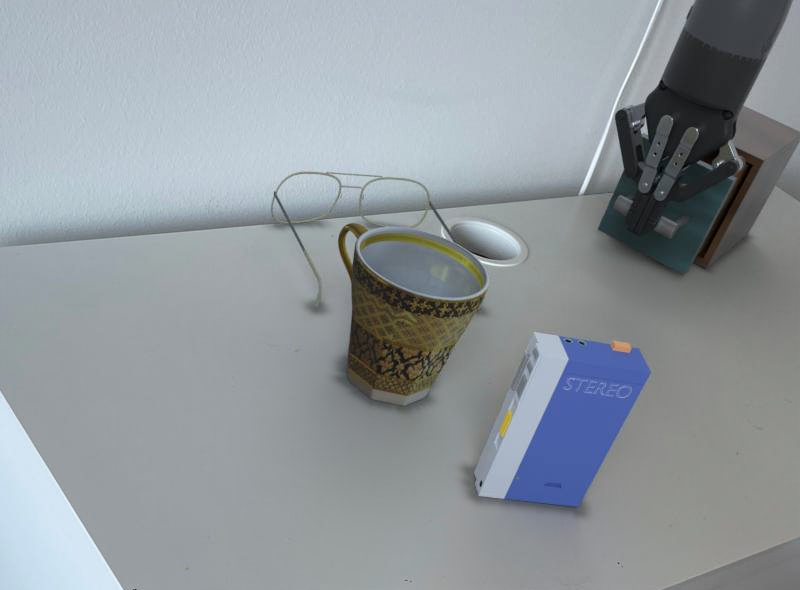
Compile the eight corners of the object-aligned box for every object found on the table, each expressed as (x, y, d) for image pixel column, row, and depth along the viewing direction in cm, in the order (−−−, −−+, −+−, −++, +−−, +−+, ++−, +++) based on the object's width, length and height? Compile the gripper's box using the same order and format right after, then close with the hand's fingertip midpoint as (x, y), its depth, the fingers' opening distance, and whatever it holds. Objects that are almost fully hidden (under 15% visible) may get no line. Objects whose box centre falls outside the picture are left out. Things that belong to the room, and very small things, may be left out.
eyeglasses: (414, 226, 97) (429, 176, 94) (480, 310, 89) (499, 258, 85) (261, 219, 91) (271, 165, 87) (316, 309, 83) (329, 253, 79)
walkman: (568, 483, 74) (641, 343, 65) (578, 508, 72) (654, 367, 63) (469, 471, 72) (530, 325, 63) (477, 496, 70) (541, 349, 62)
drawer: (665, 289, 98) (716, 192, 91) (576, 242, 101) (618, 144, 94) (726, 242, 110) (774, 153, 103) (644, 200, 113) (686, 111, 106)
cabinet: (705, 269, 106) (764, 160, 98) (612, 221, 109) (661, 111, 101) (747, 235, 115) (804, 133, 107) (660, 191, 119) (709, 89, 110)
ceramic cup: (471, 398, 79) (517, 282, 71) (387, 433, 73) (427, 312, 66) (360, 314, 84) (392, 198, 76) (272, 340, 78) (298, 218, 71)
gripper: (811, 61, 84) (709, 252, 97) (674, 2, 88) (593, 193, 100) (787, 74, 79) (682, 273, 92) (643, 10, 83) (561, 211, 96)
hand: (636, 231), depth 96 cm, fingers closed
